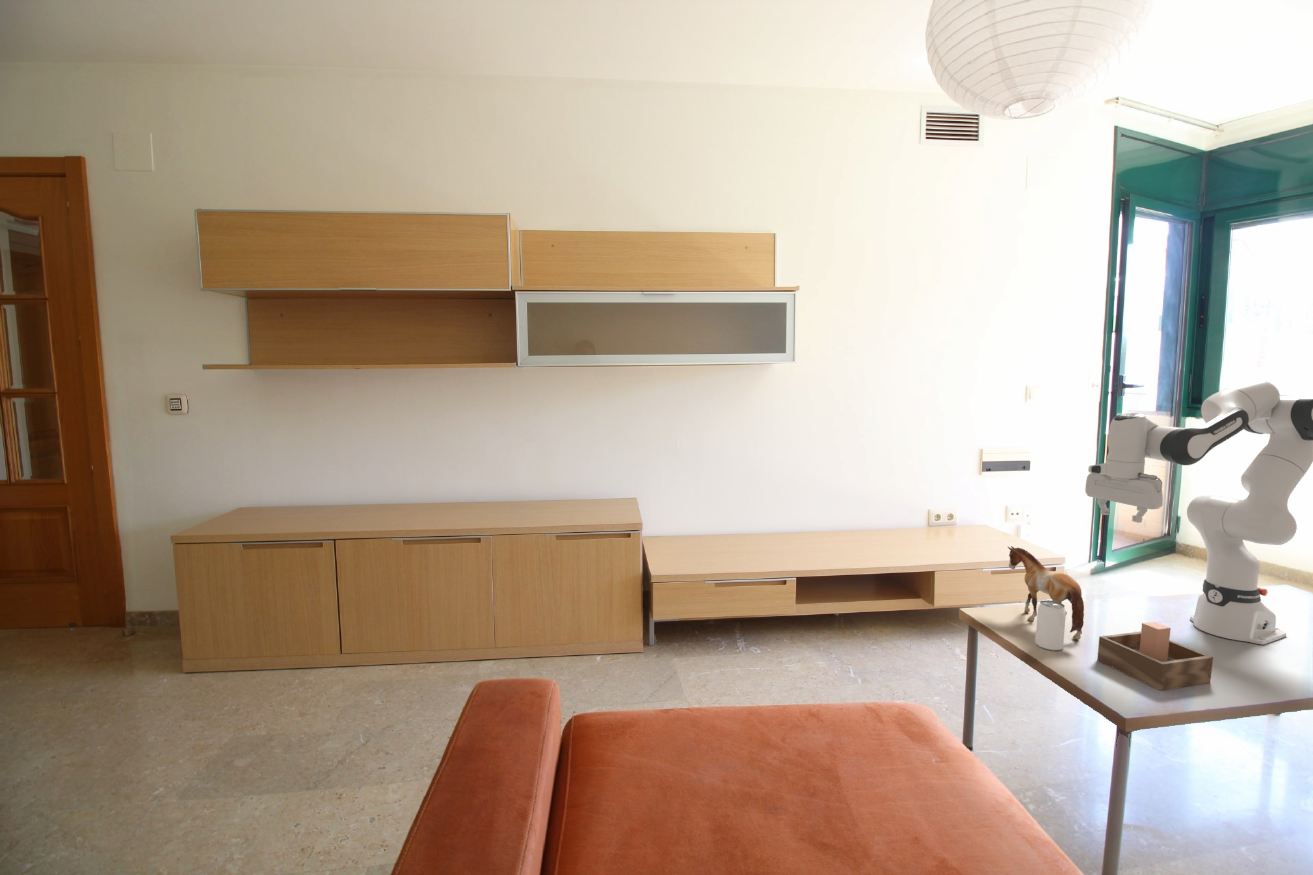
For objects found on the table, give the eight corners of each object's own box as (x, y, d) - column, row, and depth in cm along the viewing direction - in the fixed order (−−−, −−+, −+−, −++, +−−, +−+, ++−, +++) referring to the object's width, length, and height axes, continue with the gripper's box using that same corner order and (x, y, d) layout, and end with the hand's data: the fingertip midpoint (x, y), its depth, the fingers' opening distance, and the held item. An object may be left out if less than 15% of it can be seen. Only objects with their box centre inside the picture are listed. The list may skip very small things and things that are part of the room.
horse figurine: (1001, 607, 200) (1006, 544, 198) (1024, 607, 201) (1029, 544, 199) (1073, 650, 170) (1080, 576, 167) (1100, 650, 170) (1107, 576, 168)
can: (1067, 652, 168) (1070, 609, 167) (1040, 649, 170) (1044, 607, 168) (1057, 642, 175) (1060, 600, 174) (1031, 640, 176) (1034, 598, 175)
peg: (1149, 666, 161) (1154, 621, 160) (1165, 674, 157) (1170, 627, 156) (1137, 668, 160) (1142, 623, 158) (1153, 675, 156) (1158, 629, 155)
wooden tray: (1144, 654, 168) (1146, 630, 167) (1210, 682, 153) (1213, 657, 152) (1097, 660, 164) (1099, 636, 163) (1160, 690, 149) (1163, 664, 148)
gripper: (1171, 476, 170) (1166, 526, 171) (1099, 464, 189) (1096, 510, 191) (1153, 477, 168) (1149, 527, 170) (1083, 465, 188) (1079, 511, 189)
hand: (1120, 518), depth 180 cm, fingers open, 8 cm apart
